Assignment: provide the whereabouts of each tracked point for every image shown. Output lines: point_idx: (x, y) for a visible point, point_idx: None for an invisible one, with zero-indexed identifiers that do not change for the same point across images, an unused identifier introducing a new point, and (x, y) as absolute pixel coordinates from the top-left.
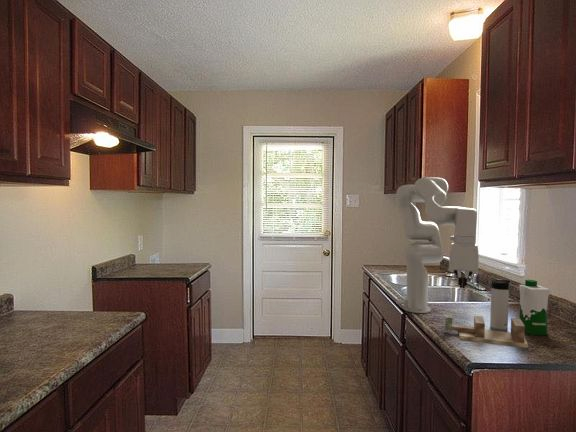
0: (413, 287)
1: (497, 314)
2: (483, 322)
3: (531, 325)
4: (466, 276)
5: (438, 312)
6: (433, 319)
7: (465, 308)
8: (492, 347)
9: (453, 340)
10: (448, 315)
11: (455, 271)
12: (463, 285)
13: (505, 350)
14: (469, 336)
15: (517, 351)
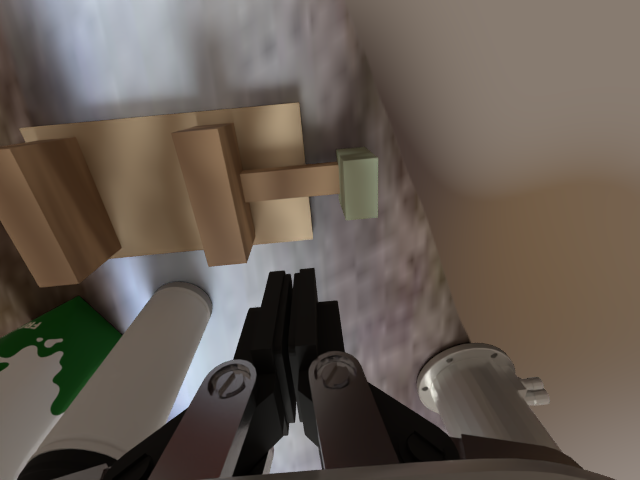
0: (540, 444)
1: (156, 324)
2: (182, 155)
3: (48, 320)
4: (227, 387)
5: (390, 382)
6: (407, 305)
7: (311, 450)
8: (154, 48)
9: (322, 62)
10: (363, 200)
11: (427, 452)
12: (280, 285)
13: (95, 32)
14: (258, 113)
15: (49, 47)
